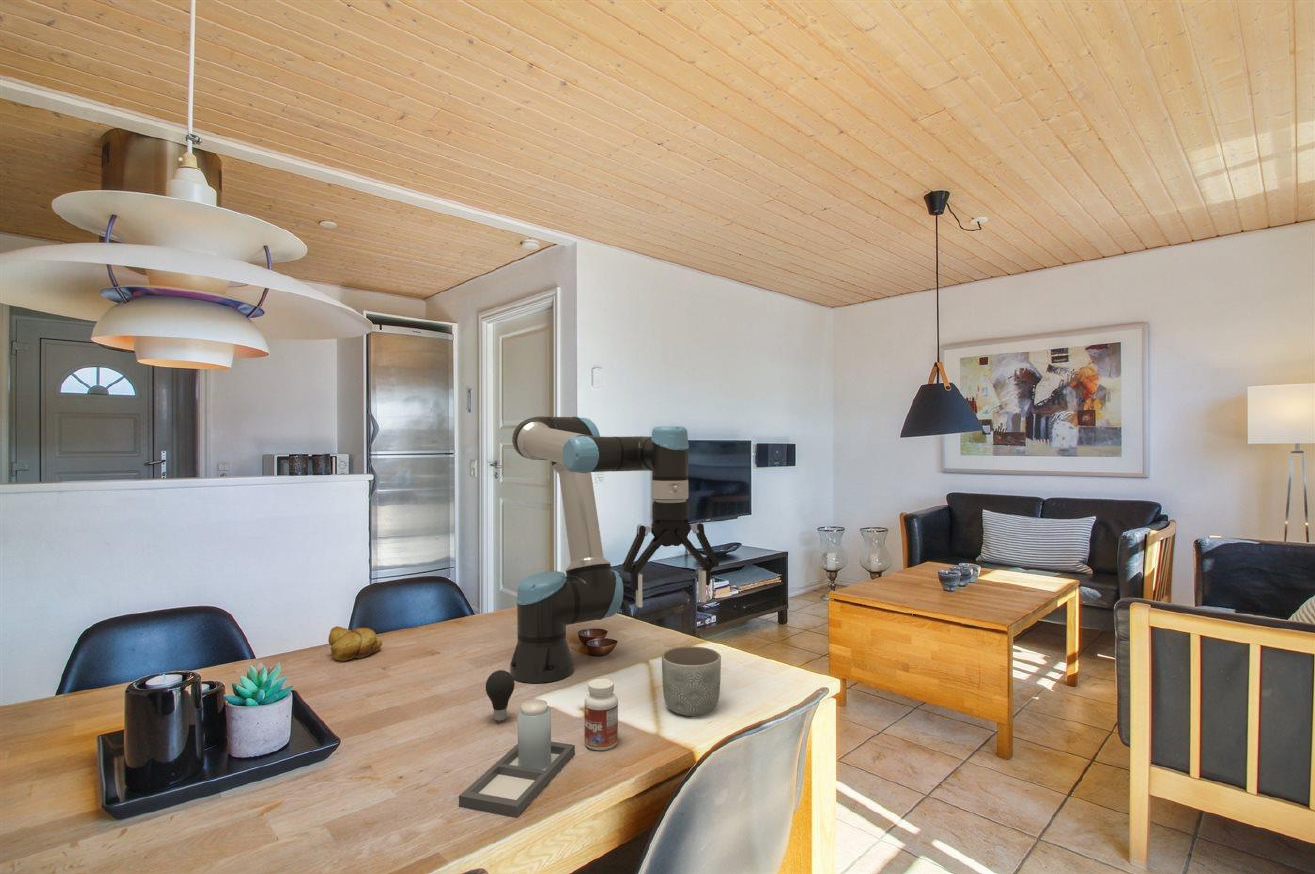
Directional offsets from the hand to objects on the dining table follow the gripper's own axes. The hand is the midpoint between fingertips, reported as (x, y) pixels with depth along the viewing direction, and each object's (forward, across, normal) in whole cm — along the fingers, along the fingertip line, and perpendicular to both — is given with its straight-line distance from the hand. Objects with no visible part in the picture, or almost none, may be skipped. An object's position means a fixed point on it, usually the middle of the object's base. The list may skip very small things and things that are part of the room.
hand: (671, 603), depth 130 cm
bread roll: (+22, -70, +56) cm, 93 cm away
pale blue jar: (+22, -29, -15) cm, 39 cm away
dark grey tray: (+22, -31, -18) cm, 42 cm away
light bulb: (+22, -34, +5) cm, 41 cm away
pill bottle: (+22, -16, -10) cm, 30 cm away
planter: (+22, +4, 0) cm, 23 cm away
